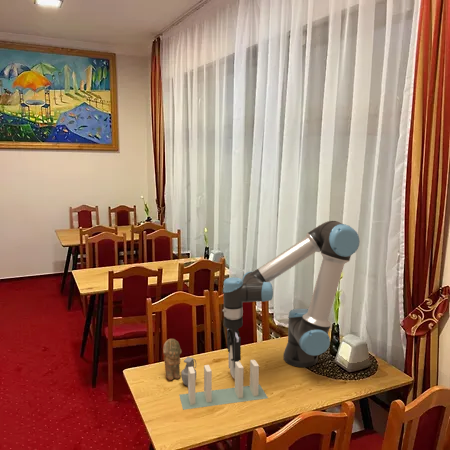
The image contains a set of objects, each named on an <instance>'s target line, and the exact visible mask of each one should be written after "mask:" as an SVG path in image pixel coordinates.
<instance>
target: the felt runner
mask: <svg viewBox="0 0 450 450" xmlns="http://www.w3.org/2000/svg"><path fill="white" fill-rule="evenodd" d="M178 396H179V399H180V404H181V407H182V410H183V411H184V410H185V411H186V410H191V409H199V408H206V407H213V406H222V405H227V404H235V403H243V402H249V401H259V400H264V399H269V397H268V395H267V393H266V392H265V391H264V389H263V387H262V386H261V384H260V383H258V396H253V394H252V392H251V391H250V385H243V398H238V397H237V395H236V393H235V387H228V388H219V389H214V390H213V389H212V402H206V399H205V396H204V391H197V392H196V391H195V404H191V405H190V401H189V398H188V393H181V394H179V395H178Z"/></svg>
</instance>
